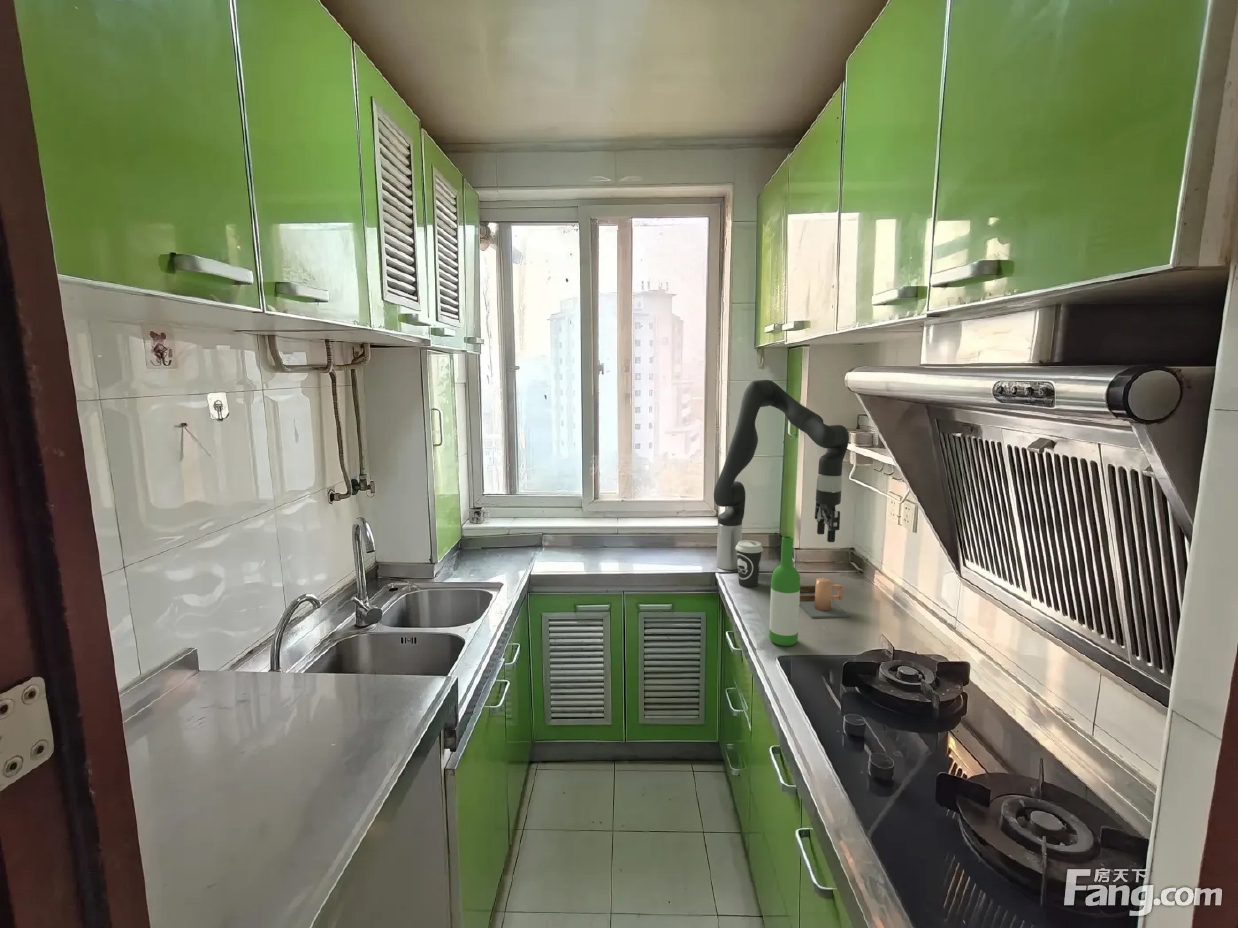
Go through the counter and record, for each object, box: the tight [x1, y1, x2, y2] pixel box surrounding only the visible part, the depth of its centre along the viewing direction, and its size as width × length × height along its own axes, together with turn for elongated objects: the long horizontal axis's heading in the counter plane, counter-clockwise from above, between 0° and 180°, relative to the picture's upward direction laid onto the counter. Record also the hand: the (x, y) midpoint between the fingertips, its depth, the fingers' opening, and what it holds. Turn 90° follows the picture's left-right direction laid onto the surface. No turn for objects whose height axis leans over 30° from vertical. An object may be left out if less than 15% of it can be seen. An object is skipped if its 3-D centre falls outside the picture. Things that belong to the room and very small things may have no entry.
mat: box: [799, 600, 851, 619], centre depth 192 cm, size 12×12×1 cm
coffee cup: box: [735, 539, 764, 588], centre depth 214 cm, size 10×10×15 cm
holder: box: [799, 584, 816, 602], centre depth 204 cm, size 10×10×2 cm
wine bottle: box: [768, 535, 801, 647], centre depth 168 cm, size 8×8×30 cm
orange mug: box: [814, 577, 844, 611], centre depth 192 cm, size 8×5×9 cm, turn 92°
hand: (825, 537), depth 194 cm, fingers open, 8 cm apart
